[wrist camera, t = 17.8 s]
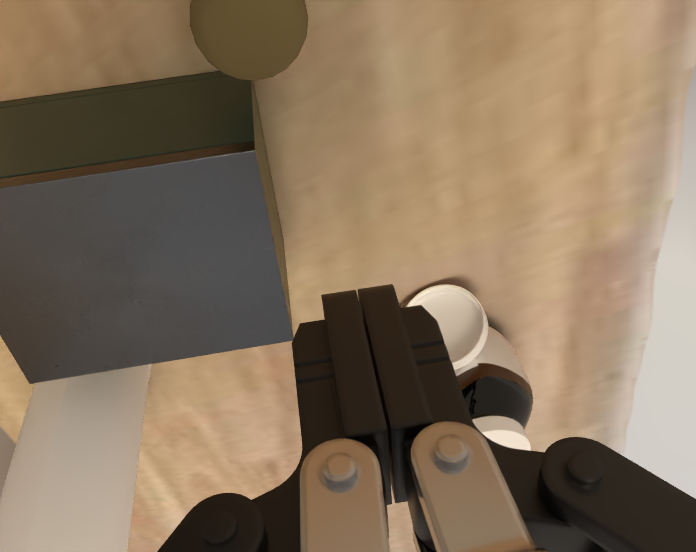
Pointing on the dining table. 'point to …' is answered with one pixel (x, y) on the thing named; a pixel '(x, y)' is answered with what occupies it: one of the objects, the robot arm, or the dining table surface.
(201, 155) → the dark gray flat panel
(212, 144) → the dark green storage bin
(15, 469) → the bottle
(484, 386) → the spread jar
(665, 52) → the dining table surface
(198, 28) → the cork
